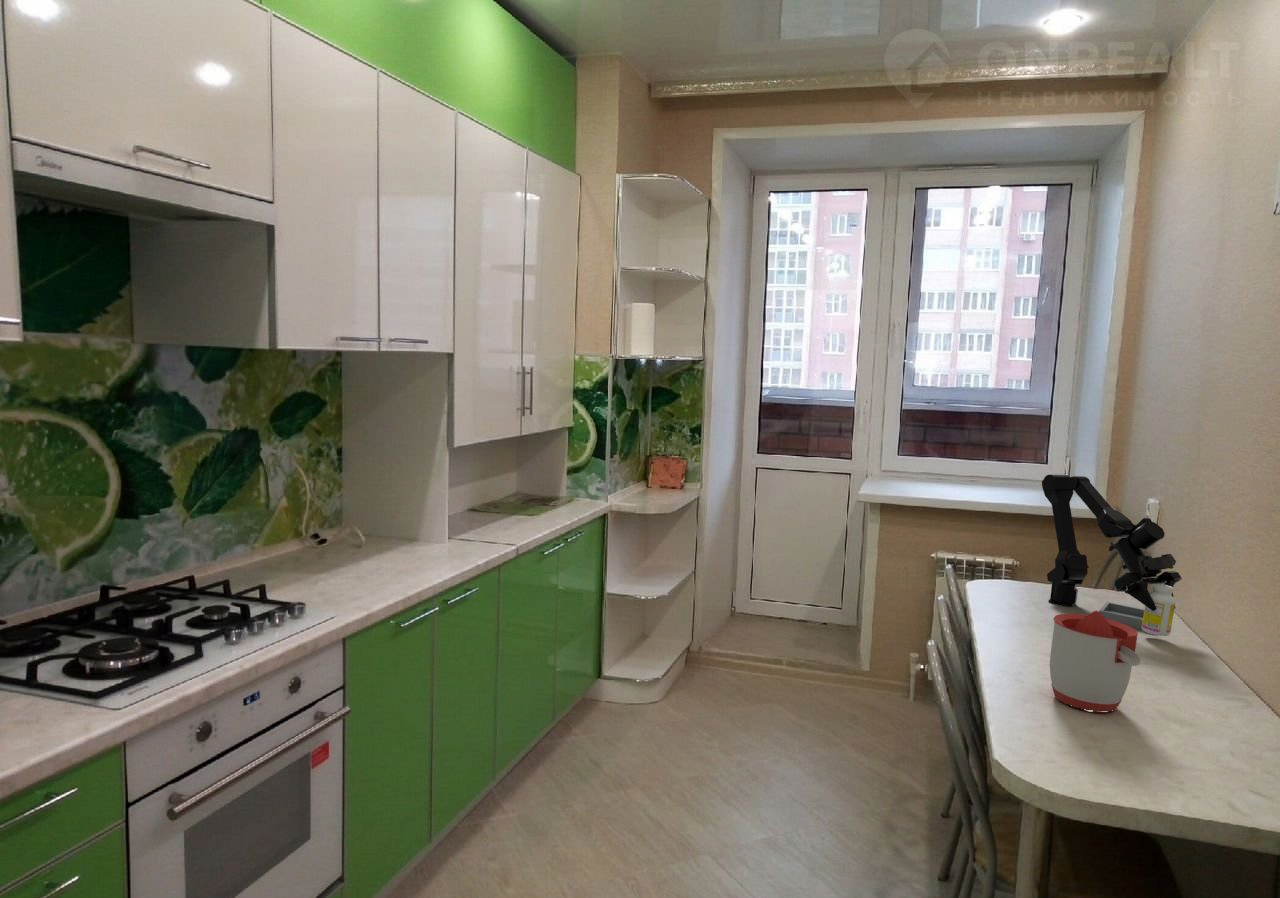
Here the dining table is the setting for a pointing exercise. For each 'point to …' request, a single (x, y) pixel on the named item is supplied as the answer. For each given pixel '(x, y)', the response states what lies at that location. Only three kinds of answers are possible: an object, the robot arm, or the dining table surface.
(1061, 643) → the citrus juicer
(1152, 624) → the supplement bottle
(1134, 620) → the tray
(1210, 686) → the dining table surface
